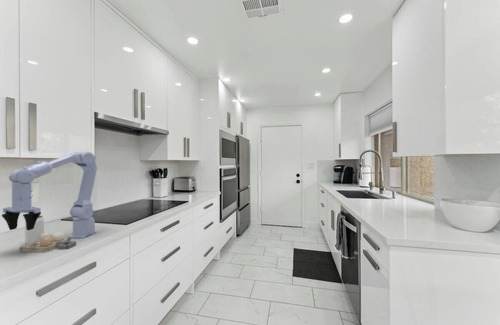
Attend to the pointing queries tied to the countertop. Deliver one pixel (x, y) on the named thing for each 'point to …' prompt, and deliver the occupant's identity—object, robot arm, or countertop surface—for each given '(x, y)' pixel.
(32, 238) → the can
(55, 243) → the carton
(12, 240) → the countertop surface
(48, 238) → the brown egg
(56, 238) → the white egg
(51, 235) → the white egg
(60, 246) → the egg stand
